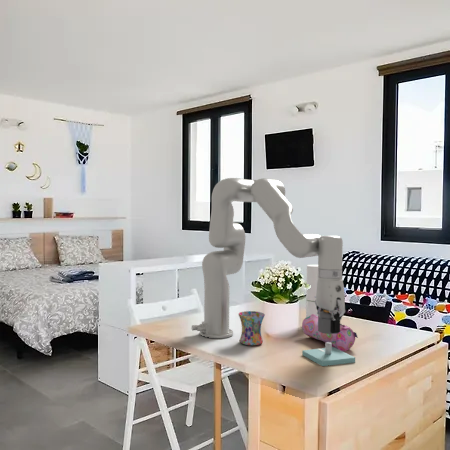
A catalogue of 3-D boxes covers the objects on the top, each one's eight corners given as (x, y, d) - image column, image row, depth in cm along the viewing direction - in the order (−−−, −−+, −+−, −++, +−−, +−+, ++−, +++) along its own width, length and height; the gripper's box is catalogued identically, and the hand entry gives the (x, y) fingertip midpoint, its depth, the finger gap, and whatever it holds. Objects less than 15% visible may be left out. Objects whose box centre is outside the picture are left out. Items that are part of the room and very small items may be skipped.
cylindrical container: (325, 328, 193) (326, 266, 192) (307, 328, 193) (308, 266, 193) (321, 324, 200) (322, 264, 200) (304, 323, 201) (305, 264, 200)
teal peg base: (322, 366, 146) (322, 350, 146) (302, 354, 157) (302, 339, 157) (355, 362, 150) (355, 346, 150) (333, 351, 161) (333, 336, 161)
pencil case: (358, 350, 163) (358, 324, 163) (336, 353, 160) (337, 326, 159) (320, 335, 183) (320, 311, 183) (300, 337, 179) (300, 313, 179)
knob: (343, 332, 152) (343, 312, 151) (325, 334, 149) (326, 314, 149) (331, 328, 158) (332, 308, 157) (314, 329, 155) (315, 310, 155)
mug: (265, 347, 165) (266, 316, 165) (238, 347, 165) (239, 316, 165) (262, 338, 177) (262, 309, 177) (237, 337, 177) (237, 309, 177)
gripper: (356, 277, 146) (355, 335, 147) (324, 270, 162) (323, 323, 163) (335, 278, 143) (334, 337, 144) (305, 271, 160) (304, 324, 160)
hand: (328, 329), depth 153 cm, fingers closed on knob, 6 cm apart
